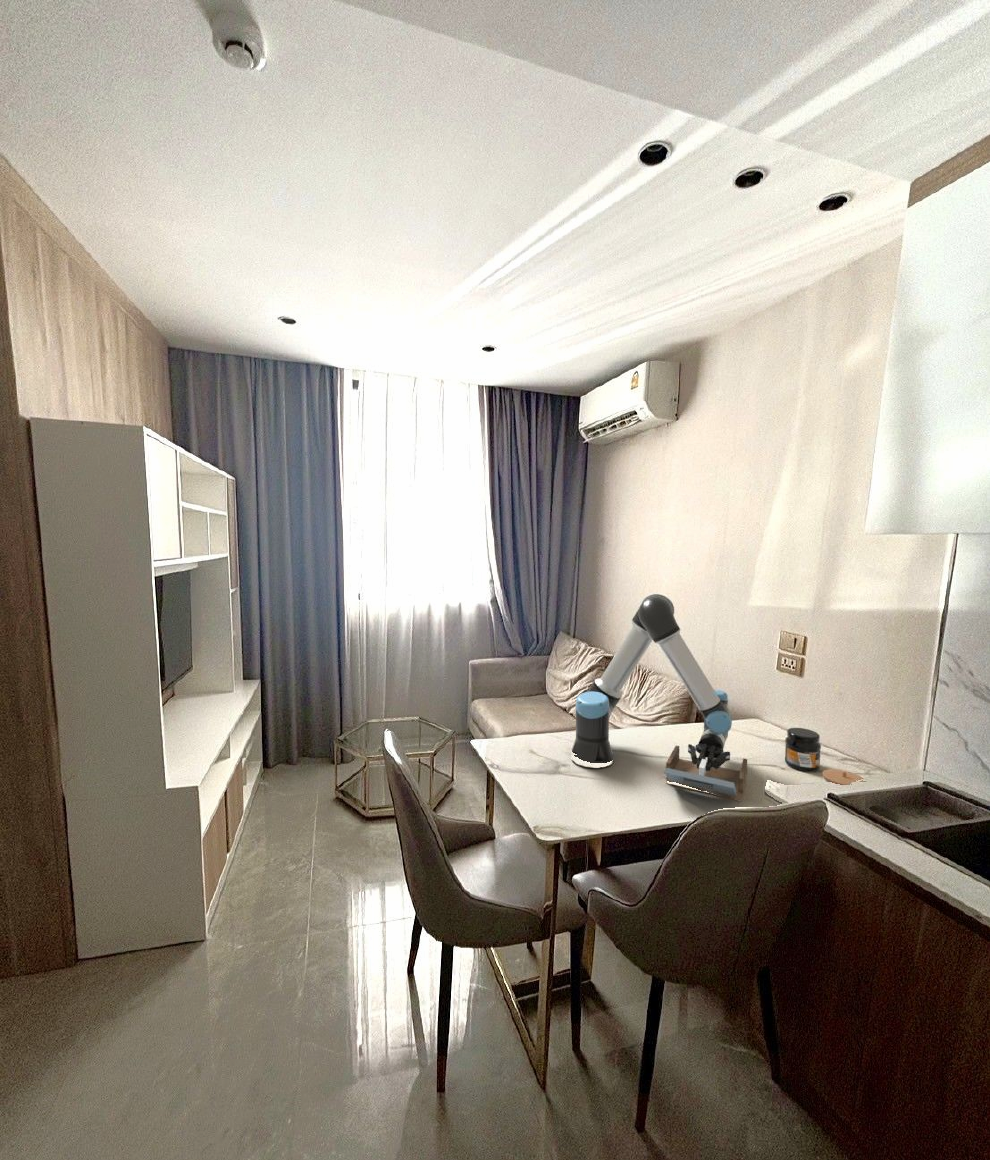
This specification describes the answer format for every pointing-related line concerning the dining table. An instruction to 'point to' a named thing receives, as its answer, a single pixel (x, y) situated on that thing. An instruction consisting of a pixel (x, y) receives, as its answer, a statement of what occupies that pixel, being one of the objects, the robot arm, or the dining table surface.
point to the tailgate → (701, 781)
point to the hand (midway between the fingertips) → (701, 772)
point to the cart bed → (711, 774)
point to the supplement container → (802, 749)
